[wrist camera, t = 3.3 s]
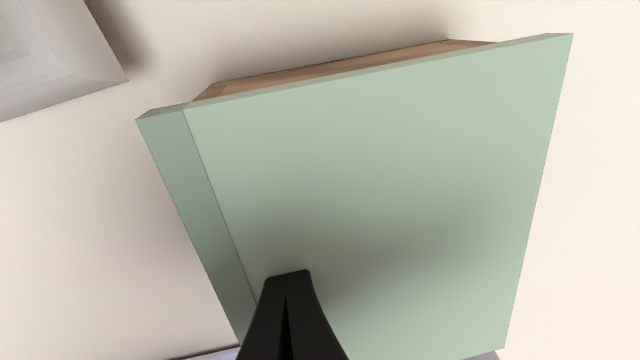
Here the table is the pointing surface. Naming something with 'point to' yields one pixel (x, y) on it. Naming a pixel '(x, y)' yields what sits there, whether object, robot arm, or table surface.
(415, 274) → the lid
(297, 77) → the box
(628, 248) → the table surface
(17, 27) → the stamp
